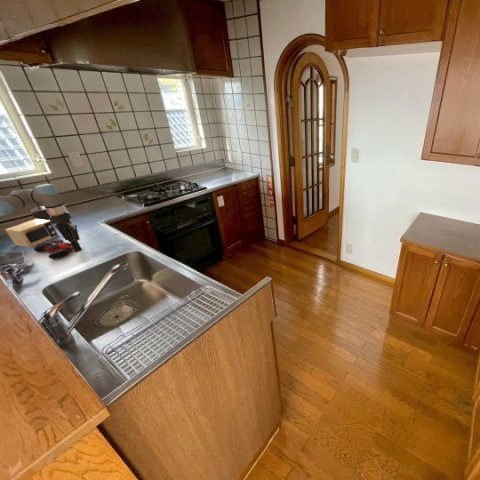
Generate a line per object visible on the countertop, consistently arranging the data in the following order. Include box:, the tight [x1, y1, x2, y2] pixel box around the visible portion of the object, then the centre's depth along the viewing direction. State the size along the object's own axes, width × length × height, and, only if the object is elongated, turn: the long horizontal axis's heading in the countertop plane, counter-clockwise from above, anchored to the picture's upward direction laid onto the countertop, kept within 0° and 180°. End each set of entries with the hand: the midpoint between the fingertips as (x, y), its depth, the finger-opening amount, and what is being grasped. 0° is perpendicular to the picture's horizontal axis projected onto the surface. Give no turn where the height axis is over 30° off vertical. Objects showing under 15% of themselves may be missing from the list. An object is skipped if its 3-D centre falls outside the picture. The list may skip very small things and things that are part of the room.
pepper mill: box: [30, 204, 54, 223], centre depth 190 cm, size 16×11×18 cm
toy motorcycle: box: [33, 238, 81, 260], centre depth 154 cm, size 25×5×16 cm
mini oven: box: [4, 218, 59, 248], centre depth 163 cm, size 13×16×11 cm
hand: (78, 250), depth 151 cm, fingers closed
